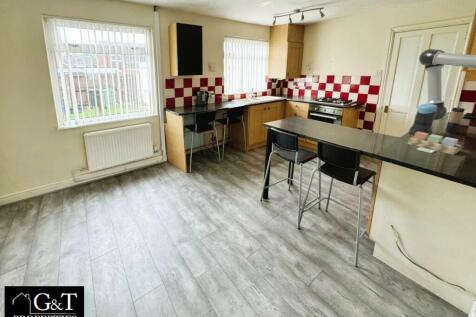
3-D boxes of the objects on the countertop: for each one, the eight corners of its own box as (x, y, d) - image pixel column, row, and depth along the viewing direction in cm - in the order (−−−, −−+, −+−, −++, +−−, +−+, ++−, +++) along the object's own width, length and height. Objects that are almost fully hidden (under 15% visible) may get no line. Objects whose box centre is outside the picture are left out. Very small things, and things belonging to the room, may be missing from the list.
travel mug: (458, 133, 203) (467, 109, 196) (449, 133, 203) (457, 109, 196) (451, 131, 210) (459, 107, 203) (442, 130, 210) (450, 107, 203)
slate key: (441, 145, 159) (443, 138, 157) (444, 144, 163) (446, 137, 161) (452, 148, 155) (455, 140, 153) (455, 146, 158) (458, 139, 156)
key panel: (407, 143, 172) (408, 138, 170) (413, 141, 179) (415, 135, 177) (453, 154, 153) (455, 148, 151) (459, 151, 160) (461, 145, 158)
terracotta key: (413, 139, 171) (415, 132, 169) (416, 138, 174) (418, 131, 173) (423, 141, 167) (425, 134, 165) (426, 140, 170) (428, 133, 168)
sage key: (426, 142, 165) (429, 135, 163) (429, 141, 168) (432, 134, 167) (437, 145, 161) (439, 137, 159) (440, 143, 164) (442, 136, 162)
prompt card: (416, 149, 160) (417, 148, 160) (420, 148, 164) (420, 146, 163) (431, 153, 154) (431, 151, 154) (434, 151, 158) (435, 150, 157)
